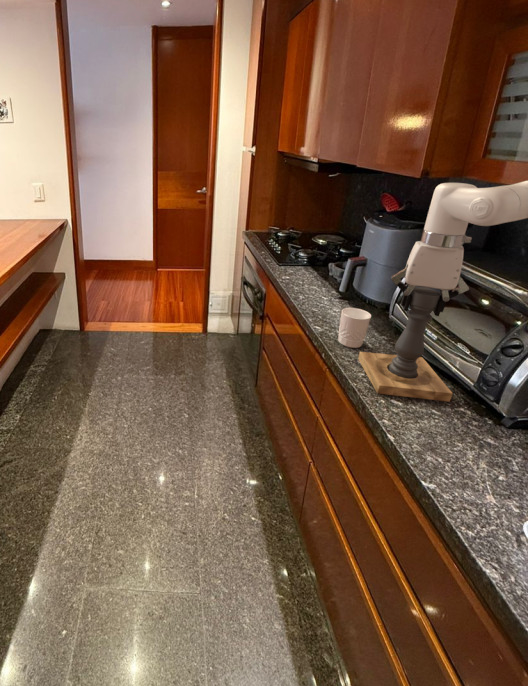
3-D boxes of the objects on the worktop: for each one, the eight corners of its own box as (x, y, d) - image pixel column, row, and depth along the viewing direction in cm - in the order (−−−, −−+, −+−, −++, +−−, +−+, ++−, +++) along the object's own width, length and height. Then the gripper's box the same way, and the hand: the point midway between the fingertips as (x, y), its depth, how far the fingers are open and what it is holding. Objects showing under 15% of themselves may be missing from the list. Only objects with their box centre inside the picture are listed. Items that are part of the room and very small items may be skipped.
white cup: (340, 347, 116) (346, 318, 112) (332, 335, 123) (338, 306, 120) (368, 350, 115) (375, 320, 111) (359, 337, 122) (365, 308, 118)
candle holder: (390, 369, 106) (414, 284, 96) (416, 378, 102) (444, 291, 92) (383, 378, 102) (407, 291, 92) (410, 389, 98) (438, 299, 88)
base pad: (420, 365, 108) (422, 357, 107) (449, 401, 93) (452, 393, 92) (358, 358, 111) (359, 351, 110) (377, 393, 96) (379, 385, 95)
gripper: (484, 239, 87) (460, 312, 94) (395, 231, 94) (378, 299, 101) (494, 248, 81) (467, 325, 88) (398, 239, 88) (380, 310, 95)
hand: (420, 310), depth 94 cm, fingers closed on candle holder, 5 cm apart
